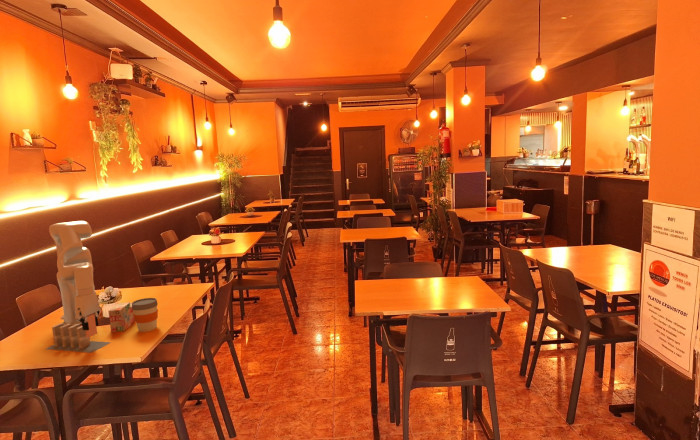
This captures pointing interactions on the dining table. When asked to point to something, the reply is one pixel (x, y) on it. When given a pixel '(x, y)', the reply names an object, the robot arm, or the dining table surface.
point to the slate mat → (90, 348)
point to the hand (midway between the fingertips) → (90, 327)
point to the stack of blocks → (121, 316)
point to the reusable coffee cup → (145, 314)
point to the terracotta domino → (91, 325)
